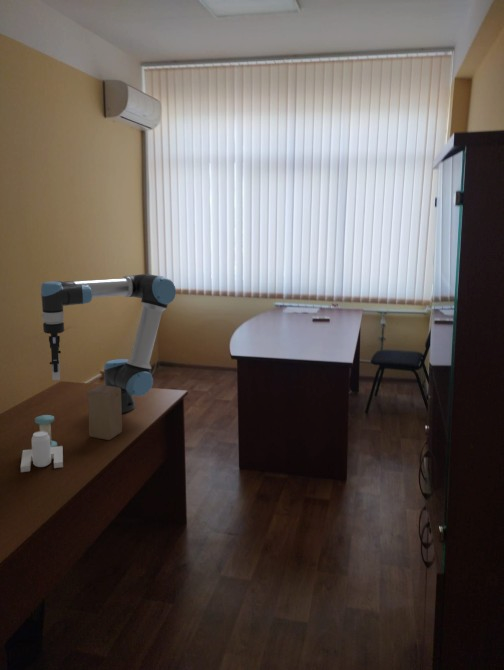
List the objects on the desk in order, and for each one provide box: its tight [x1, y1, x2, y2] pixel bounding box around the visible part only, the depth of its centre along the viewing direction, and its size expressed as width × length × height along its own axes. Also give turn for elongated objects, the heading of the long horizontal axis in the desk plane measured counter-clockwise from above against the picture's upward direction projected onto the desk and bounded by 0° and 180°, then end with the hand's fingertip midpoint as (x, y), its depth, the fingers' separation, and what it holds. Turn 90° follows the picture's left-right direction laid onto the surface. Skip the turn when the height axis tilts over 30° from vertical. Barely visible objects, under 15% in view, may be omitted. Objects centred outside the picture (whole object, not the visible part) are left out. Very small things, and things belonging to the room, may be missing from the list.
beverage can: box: [30, 430, 52, 468], centre depth 194 cm, size 6×6×12 cm
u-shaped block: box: [20, 445, 64, 473], centre depth 198 cm, size 14×14×2 cm
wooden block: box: [87, 384, 123, 441], centre depth 220 cm, size 10×10×20 cm
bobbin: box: [34, 414, 58, 447], centre depth 208 cm, size 8×8×12 cm
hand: (56, 374), depth 212 cm, fingers open, 13 cm apart
